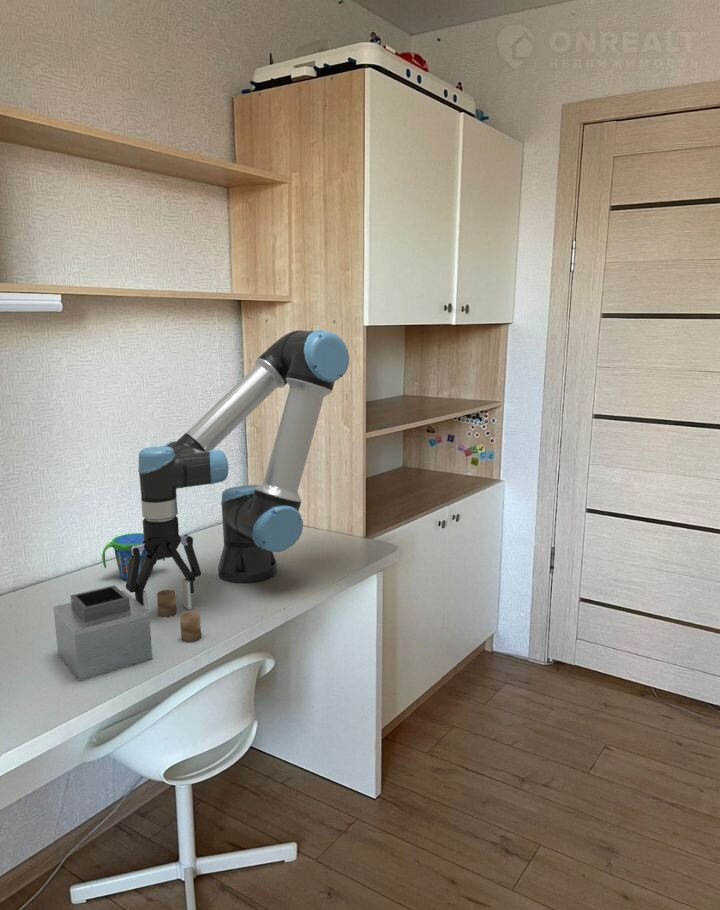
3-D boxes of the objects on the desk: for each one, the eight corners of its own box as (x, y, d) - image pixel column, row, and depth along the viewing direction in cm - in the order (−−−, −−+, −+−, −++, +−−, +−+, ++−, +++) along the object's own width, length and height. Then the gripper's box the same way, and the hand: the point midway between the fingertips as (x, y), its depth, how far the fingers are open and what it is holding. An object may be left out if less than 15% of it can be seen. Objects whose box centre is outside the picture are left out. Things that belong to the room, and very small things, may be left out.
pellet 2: (196, 632, 152) (194, 610, 151) (204, 638, 149) (203, 616, 148) (178, 637, 150) (177, 615, 149) (186, 644, 147) (184, 621, 146)
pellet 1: (172, 608, 164) (171, 588, 163) (179, 614, 161) (178, 593, 160) (155, 613, 162) (154, 592, 161) (162, 619, 159) (161, 597, 158)
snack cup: (166, 566, 192) (164, 530, 190) (167, 580, 182) (164, 541, 180) (105, 572, 188) (102, 535, 186) (102, 586, 178) (99, 547, 176)
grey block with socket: (127, 634, 151) (122, 578, 149) (152, 658, 140) (148, 598, 138) (58, 653, 143) (52, 594, 140) (79, 681, 132) (73, 617, 130)
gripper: (199, 505, 167) (204, 596, 171) (104, 522, 154) (112, 620, 158) (213, 512, 161) (218, 605, 165) (115, 530, 148) (123, 631, 152)
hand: (166, 612), depth 161 cm, fingers open, 9 cm apart
